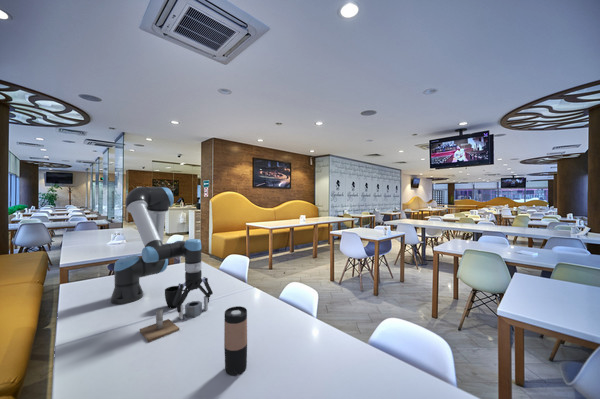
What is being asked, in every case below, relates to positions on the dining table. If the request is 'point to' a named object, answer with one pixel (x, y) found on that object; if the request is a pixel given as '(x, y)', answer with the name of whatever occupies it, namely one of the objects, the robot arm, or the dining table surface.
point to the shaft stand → (159, 328)
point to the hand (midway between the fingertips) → (193, 313)
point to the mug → (171, 296)
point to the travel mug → (235, 340)
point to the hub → (193, 309)
